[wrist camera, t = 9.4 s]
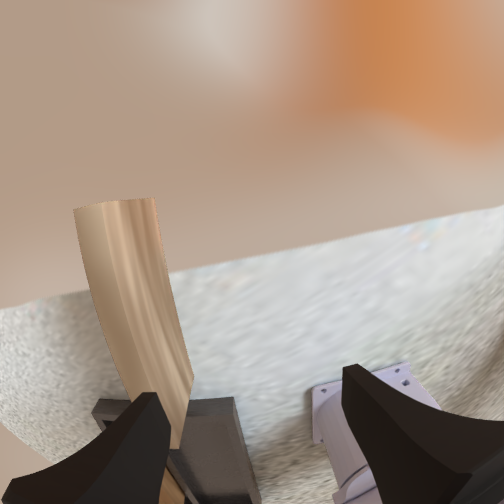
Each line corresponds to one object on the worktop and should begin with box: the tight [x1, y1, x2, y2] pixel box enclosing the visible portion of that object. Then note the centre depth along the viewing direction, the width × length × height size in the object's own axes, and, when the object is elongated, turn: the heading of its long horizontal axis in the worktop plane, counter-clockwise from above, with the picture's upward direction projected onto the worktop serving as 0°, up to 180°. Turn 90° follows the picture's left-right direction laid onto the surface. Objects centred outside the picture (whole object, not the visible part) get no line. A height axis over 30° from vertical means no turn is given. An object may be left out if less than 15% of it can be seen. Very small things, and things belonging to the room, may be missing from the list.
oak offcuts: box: [159, 465, 185, 504], centre depth 20 cm, size 3×11×6 cm, turn 8°
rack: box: [91, 397, 262, 504], centre depth 22 cm, size 13×20×2 cm, turn 8°
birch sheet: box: [73, 198, 194, 449], centre depth 16 cm, size 2×14×8 cm, turn 8°
